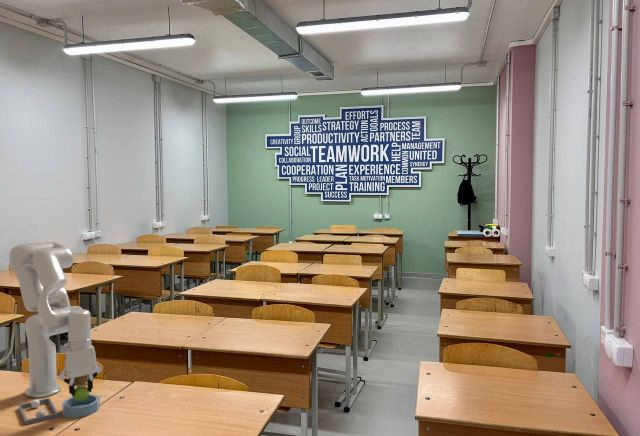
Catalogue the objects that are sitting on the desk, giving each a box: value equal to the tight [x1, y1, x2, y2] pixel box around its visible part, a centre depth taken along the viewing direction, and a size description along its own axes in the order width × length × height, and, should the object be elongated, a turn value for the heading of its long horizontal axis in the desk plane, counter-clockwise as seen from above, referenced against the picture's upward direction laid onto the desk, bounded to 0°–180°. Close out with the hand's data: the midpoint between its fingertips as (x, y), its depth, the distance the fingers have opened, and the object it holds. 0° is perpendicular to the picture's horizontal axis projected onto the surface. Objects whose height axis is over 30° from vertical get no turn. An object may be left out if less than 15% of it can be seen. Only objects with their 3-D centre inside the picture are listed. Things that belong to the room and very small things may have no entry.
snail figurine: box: [72, 375, 90, 402], centre depth 185 cm, size 5×6×12 cm
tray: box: [18, 397, 59, 426], centre depth 183 cm, size 16×10×2 cm, turn 38°
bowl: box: [61, 393, 101, 419], centre depth 186 cm, size 12×12×4 cm
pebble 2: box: [35, 409, 46, 418], centre depth 179 cm, size 3×3×3 cm
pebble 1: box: [30, 398, 41, 409], centre depth 188 cm, size 3×3×3 cm
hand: (81, 392), depth 185 cm, fingers closed on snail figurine, 5 cm apart
